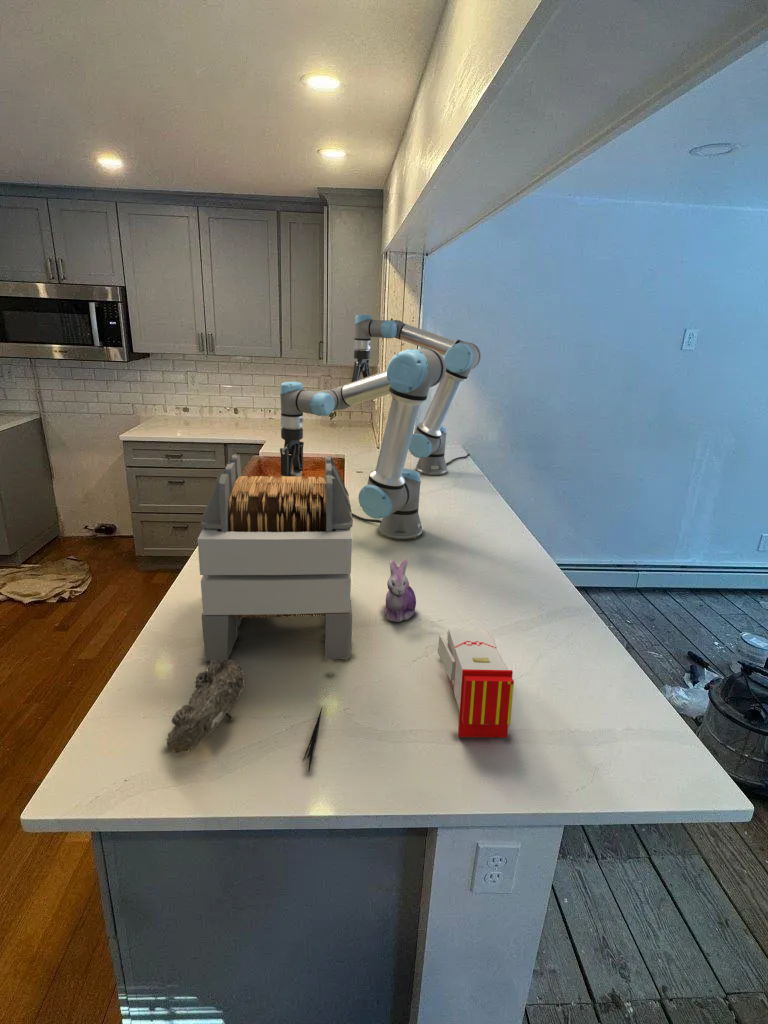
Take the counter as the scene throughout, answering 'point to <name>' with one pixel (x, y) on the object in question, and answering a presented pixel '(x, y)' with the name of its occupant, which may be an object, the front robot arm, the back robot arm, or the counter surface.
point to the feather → (313, 740)
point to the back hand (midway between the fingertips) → (360, 396)
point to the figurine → (399, 594)
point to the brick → (296, 473)
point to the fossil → (206, 705)
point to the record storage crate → (276, 555)
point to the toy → (478, 682)
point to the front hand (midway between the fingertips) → (292, 491)
